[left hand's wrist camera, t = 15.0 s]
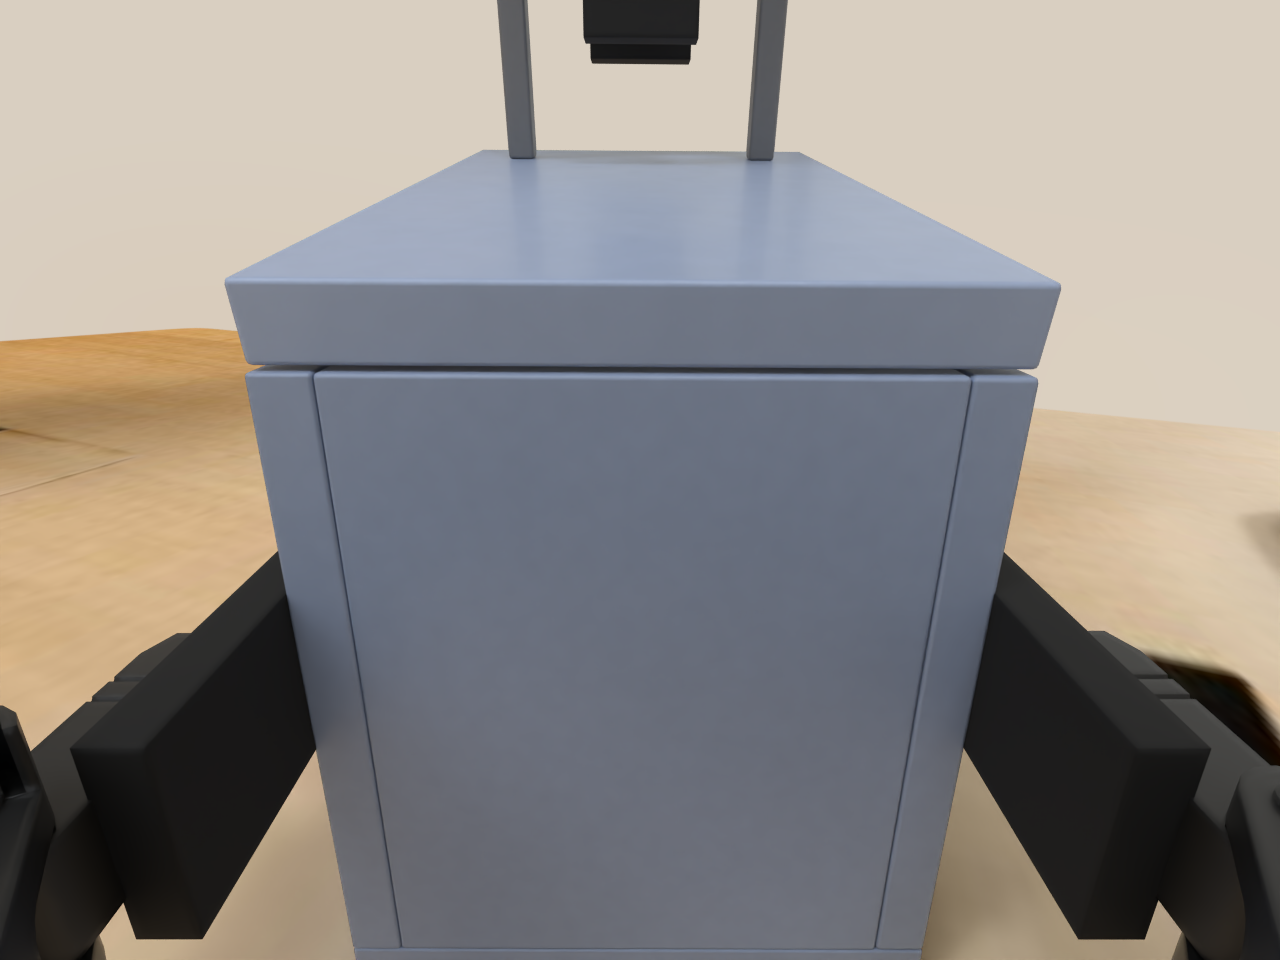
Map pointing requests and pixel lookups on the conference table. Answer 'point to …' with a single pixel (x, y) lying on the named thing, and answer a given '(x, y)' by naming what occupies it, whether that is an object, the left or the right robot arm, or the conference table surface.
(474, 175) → the lid
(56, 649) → the conference table surface
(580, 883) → the chest
